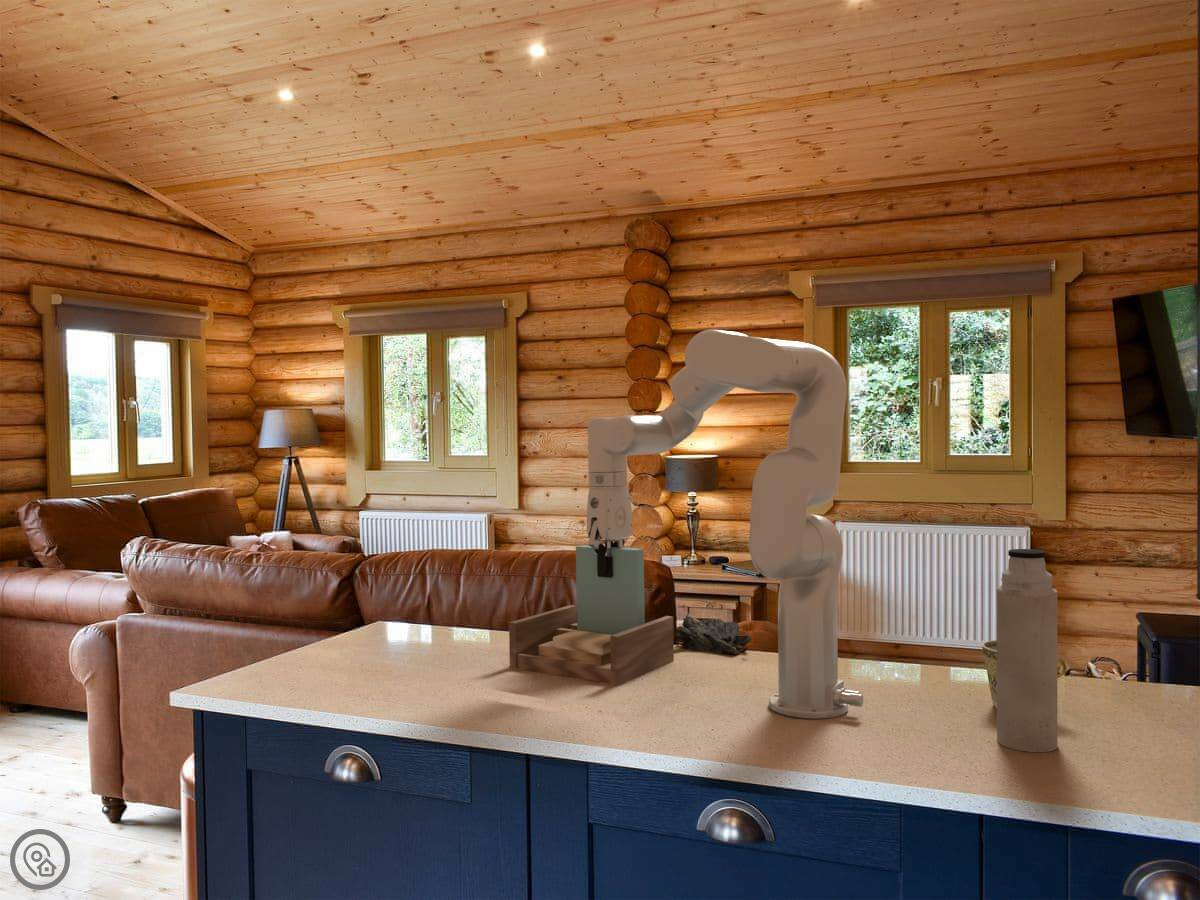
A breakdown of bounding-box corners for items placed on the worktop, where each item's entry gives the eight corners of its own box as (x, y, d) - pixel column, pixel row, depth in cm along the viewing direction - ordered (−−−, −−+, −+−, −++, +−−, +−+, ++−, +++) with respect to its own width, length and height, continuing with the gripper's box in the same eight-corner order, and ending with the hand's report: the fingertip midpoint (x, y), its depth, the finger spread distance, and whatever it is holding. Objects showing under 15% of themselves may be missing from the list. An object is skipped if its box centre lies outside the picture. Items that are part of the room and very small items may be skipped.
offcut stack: (633, 667, 176) (633, 635, 176) (607, 678, 168) (606, 645, 168) (563, 657, 185) (562, 626, 185) (535, 667, 177) (535, 635, 177)
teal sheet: (645, 653, 181) (643, 548, 180) (638, 655, 179) (636, 550, 178) (584, 645, 189) (582, 545, 188) (577, 647, 186) (575, 546, 186)
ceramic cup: (970, 707, 154) (970, 646, 154) (1001, 695, 161) (1000, 636, 160) (1050, 725, 144) (1050, 660, 144) (1079, 712, 151) (1079, 650, 150)
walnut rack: (673, 668, 181) (673, 616, 180) (618, 694, 164) (617, 636, 164) (571, 653, 194) (570, 604, 194) (509, 675, 177) (509, 622, 177)
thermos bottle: (1007, 730, 142) (1007, 544, 141) (1064, 741, 137) (1064, 549, 136) (988, 744, 136) (988, 550, 136) (1047, 756, 131) (1047, 555, 130)
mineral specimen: (668, 635, 186) (688, 590, 190) (670, 653, 198) (689, 610, 201) (740, 665, 182) (758, 619, 186) (738, 682, 193) (756, 638, 197)
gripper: (601, 483, 174) (603, 583, 175) (645, 479, 188) (647, 571, 188) (568, 483, 178) (570, 580, 179) (613, 478, 192) (615, 569, 192)
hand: (609, 575), depth 183 cm, fingers closed on teal sheet, 2 cm apart
